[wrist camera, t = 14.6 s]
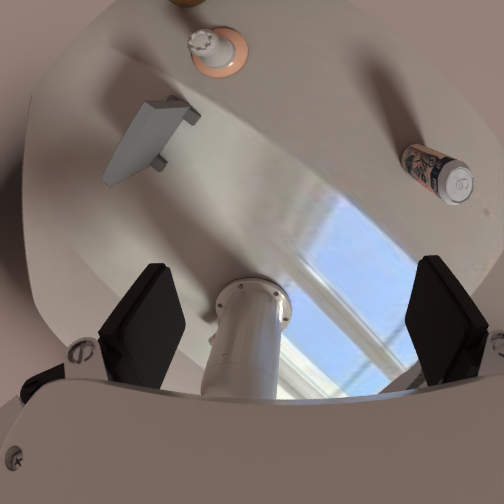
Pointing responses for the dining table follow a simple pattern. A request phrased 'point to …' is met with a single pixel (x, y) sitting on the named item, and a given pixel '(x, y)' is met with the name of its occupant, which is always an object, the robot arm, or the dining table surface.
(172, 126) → the grey upright panel
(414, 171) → the beer can
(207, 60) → the rook chess piece
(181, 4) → the utensil holder
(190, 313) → the dining table surface
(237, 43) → the pink round domed part
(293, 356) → the dining table surface
